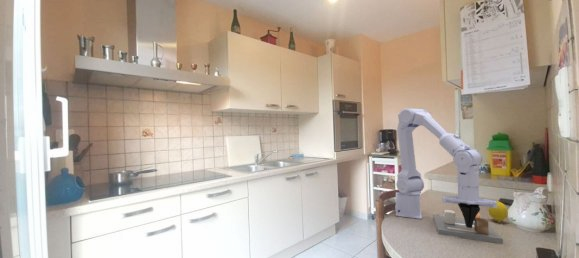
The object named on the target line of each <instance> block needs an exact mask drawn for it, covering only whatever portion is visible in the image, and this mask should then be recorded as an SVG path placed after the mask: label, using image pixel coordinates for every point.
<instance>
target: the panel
mask: <svg viewBox="0 0 579 258" xmlns="http://www.w3.org/2000/svg"><path fill="white" fill-rule="evenodd" d="M432 220H433V221H434V225H435V228H436V231H437V234H438V235H442V236H449V237H454V238H462V239H467V240H476V241H483V242H489V243H496V244H504V239H503V237H502V236H501V235H500V234H499V233H498V232H497V231H496V230H495V229H494V227H493V226H492V225H491V224H490V223H489V222H488V230H489V235H488V234H481V233H477V232H476V231H475V230H474V222H473V225H472V228H468V227H466V225H465V220H464V217H456V216H455V223H456V225H455V224H447V223H445V221H444V215H440V214H439V215H438V214H432Z"/></svg>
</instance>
